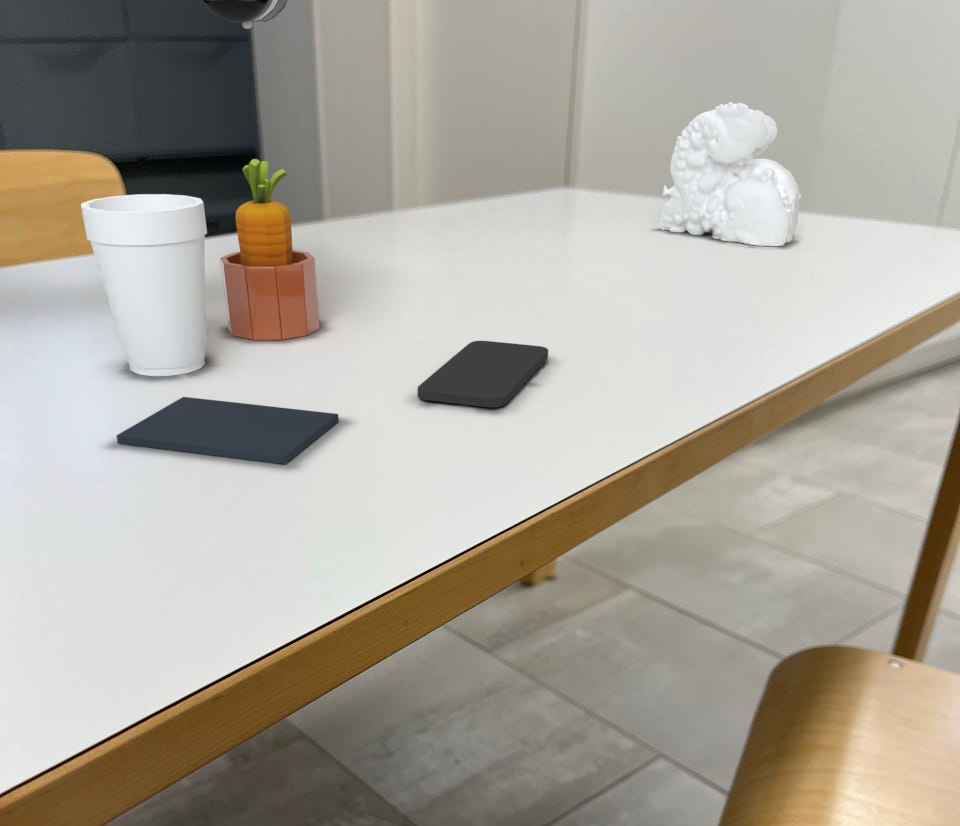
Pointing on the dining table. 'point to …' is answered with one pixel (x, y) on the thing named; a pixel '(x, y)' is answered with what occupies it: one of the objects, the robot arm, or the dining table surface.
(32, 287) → the dining table surface
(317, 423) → the mat
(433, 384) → the phone
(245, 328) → the holder
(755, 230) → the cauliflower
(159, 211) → the foam cup
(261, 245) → the carrot
